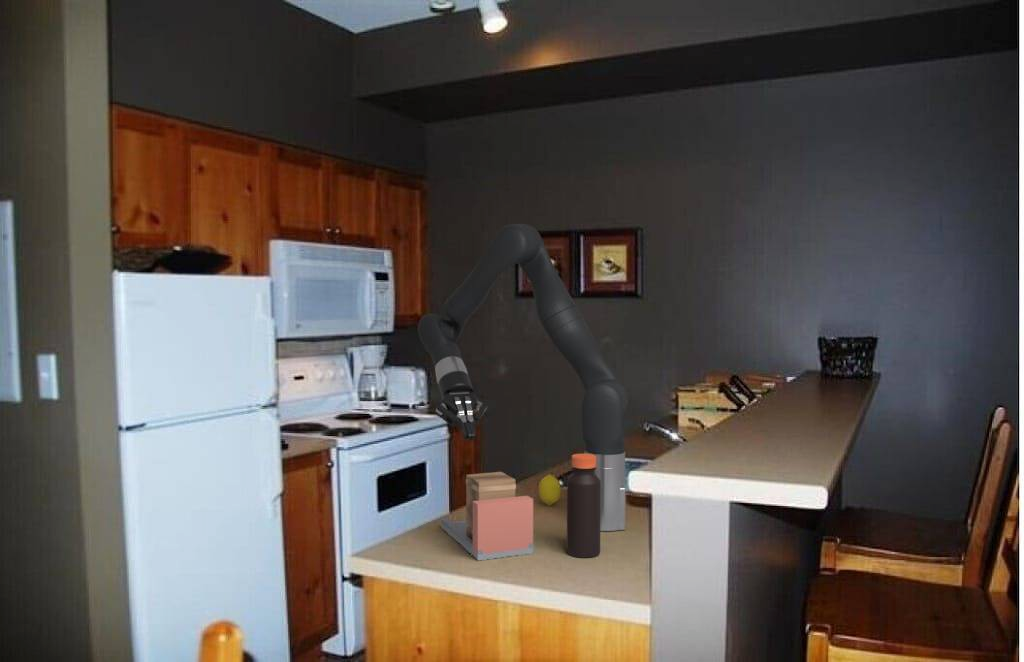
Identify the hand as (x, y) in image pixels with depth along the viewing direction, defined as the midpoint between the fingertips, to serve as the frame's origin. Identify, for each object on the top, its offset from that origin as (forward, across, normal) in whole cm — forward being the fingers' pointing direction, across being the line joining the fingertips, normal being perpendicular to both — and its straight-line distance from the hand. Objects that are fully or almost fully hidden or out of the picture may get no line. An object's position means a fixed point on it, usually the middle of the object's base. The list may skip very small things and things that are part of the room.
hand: (471, 438), depth 174 cm
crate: (+22, 0, +5) cm, 23 cm away
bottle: (+32, +15, -2) cm, 36 cm away
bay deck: (+21, 0, +8) cm, 22 cm away
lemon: (+6, +25, +23) cm, 34 cm away
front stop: (+28, 0, 0) cm, 28 cm away
